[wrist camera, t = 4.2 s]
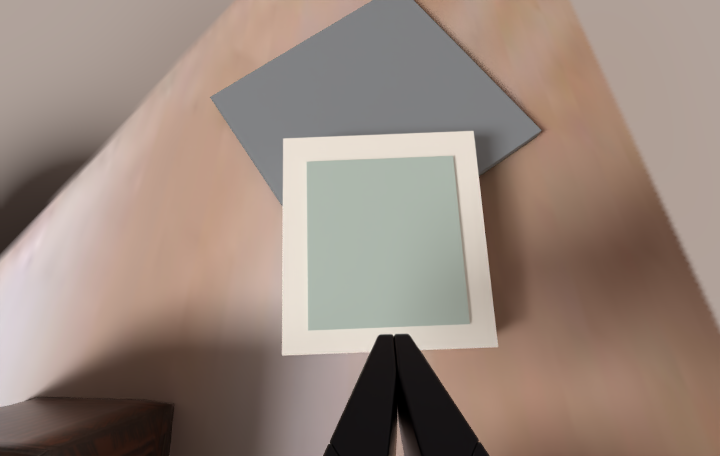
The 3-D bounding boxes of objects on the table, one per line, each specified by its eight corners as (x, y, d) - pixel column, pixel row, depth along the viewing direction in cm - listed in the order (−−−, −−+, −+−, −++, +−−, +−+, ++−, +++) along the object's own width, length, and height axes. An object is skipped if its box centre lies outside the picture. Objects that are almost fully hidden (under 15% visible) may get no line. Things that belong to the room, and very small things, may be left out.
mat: (536, 136, 26) (541, 130, 25) (330, 278, 24) (329, 276, 23) (398, -7, 30) (398, -15, 29) (214, 103, 28) (210, 97, 27)
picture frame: (462, 147, 25) (483, 342, 22) (291, 154, 25) (290, 349, 22) (474, 129, 22) (499, 347, 19) (282, 136, 22) (280, 356, 19)
